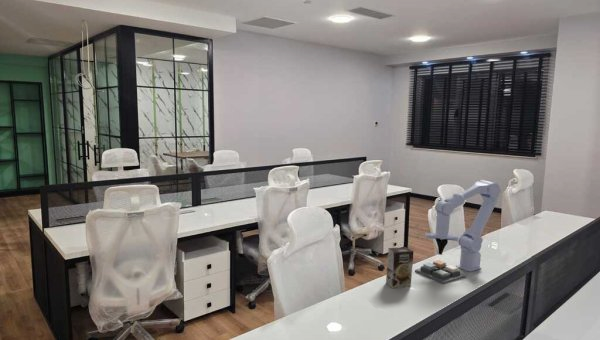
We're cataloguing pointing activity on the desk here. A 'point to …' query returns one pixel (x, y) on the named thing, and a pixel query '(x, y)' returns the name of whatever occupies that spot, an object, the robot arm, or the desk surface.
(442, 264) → the terracotta key
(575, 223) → the desk surface
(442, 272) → the sage key
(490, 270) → the desk surface
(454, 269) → the cream key
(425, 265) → the slate key
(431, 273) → the keypad
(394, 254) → the coffee box
